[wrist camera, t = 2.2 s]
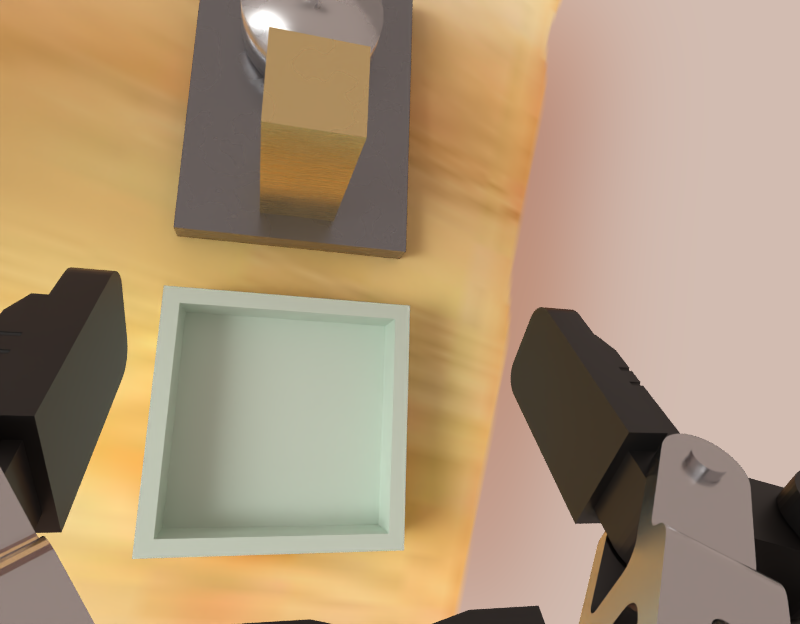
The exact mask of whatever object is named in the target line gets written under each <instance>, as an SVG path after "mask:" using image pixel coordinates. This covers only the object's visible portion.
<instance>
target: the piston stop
mask: <svg viewBox="0 0 800 624" xmlns="http://www.w3.org/2000/svg"><path fill="white" fill-rule="evenodd" d="M370 52H371V47H370V46H365V45H360V44H354V43H349V42H344V41H339V40H334V39H329V38H324V37H319V36H314V35H309V34H304V33H299V32H294V31H289V30H284V29H279V28H273V27H269V33H268V45H267V57H266V68H265V80H264V92H263V103H262V115H261V152H260V213H268V214H277V215H285V216H294V217H302V218H311V219H320V220H328V221H334V219H335V216H336V214H337V211H338V209H339V206H340V204H341V201H342V199H343V196H344V194H345V191H346V189H347V186H348V184H349V181H350V179H351V176H352V174H353V171H354V169H355V166H356V164H357V161H358V158H359V156H360V153H361V151H362V148H363V146H364V143H365V141H366V138H367V121H368V98H369V75H370Z"/></svg>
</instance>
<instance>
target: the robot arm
mask: <svg viewBox="0 0 800 624" xmlns="http://www.w3.org/2000/svg"><path fill="white" fill-rule="evenodd" d="M126 360H127V334H126V323H125V313H124V302H123V292H122V283H121V278H120V275H119V273H118V272H117V271H107V270H95V269H83V268H68V269H67V270H66V271H65V272H64V274H63V275H62V276H61V278H60V279H59V281H58V282H57V284H56V285H55V287H54V288H53V289H52V291H51V292H50V294H49V295H47V294H33V293H31V294H30V295H28V296H26V297H24V298H23V299H21V300H19V301H18V302H16V303H14V304H13V305H11V306H9V307H8V308H6V309H4V310H3V311H2V312H1V314H0V624H94V622H93V620H92V618H91V616H90V615H89V613H88V611H87V609H86V607H85V605H84V604H83V602H82V600H81V598H80V596H79V594H78V593H77V591H76V589H75V587H74V585H73V583H72V582H71V580H70V578H69V576H68V574H67V572H66V571H65V569H64V567H63V565H62V563H61V561H60V560H59V558H58V556H57V554H56V552H55V551H54V549H53V547H52V546H51V544H50V543H49V541H48V540H47V539H46V538H45V537H44V536H42V537H40V538H39V537H38V536H37V534H36V533H50V532H62V529H63V527H64V524H65V522H66V519H67V517H68V514H69V512H70V509H71V507H72V504H73V501H74V499H75V496H76V494H77V491H78V489H79V486H80V484H81V481H82V479H83V476H84V474H85V471H86V469H87V466H88V463H89V461H90V458H91V456H92V453H93V451H94V448H95V446H96V443H97V441H98V438H99V436H100V433H101V431H102V428H103V426H104V423H105V420H106V418H107V415H108V413H109V410H110V408H111V405H112V403H113V400H114V398H115V395H116V393H117V390H118V388H119V385H120V382H121V380H122V377H123V374H124V371H125V366H126ZM511 386H512V391H513V394H514V396H515V398H516V400H517V402H518V404H519V406H520V409H521V411H522V413H523V415H524V417H525V419H526V421H527V423H528V425H529V427H530V429H531V432H532V434H533V436H534V438H535V440H536V442H537V444H538V446H539V448H540V451H541V453H542V455H543V457H544V459H545V461H546V463H547V465H548V467H549V469H550V472H551V474H552V476H553V478H554V480H555V482H556V484H557V486H558V488H559V490H560V493H561V495H562V497H563V499H564V501H565V503H566V505H567V507H568V509H569V511H570V513H571V516H572V518H573V520H574V522H575V524H577V523H579V524H581V523H601V524H602V526H603V528H604V530H605V532H604V534H603V535H602V537H601V538H600V540H599V543H598V545H597V550H596V554H595V558H594V562H593V567H592V571H591V575H590V579H589V583H588V588H587V592H586V597H585V601H584V605H583V609H582V613H581V617H580V622H579V624H800V471H799V472H797V473H796V475H795V476H794V477H793V478H792V479H791V480H790V481H789V483H788V484H787V485H786V486H785V487H784V488H783V487H779V486H776V485H772V484H768V483H765V482H761V481H758V480H754V479H751V478H748V477H747V475H746V473H745V471H744V470H743V469H742V467H741V466H740V465H739V464H738V463H737V462H736V461H735V460H734V459H733V458H732V457H731V456H730V455H729V454H727V453H726V452H725V451H723V450H722V449H721V448H719V447H718V446H716V445H714V444H713V443H710V442H709V441H706V440H704V439H702V438H699V437H696V436H693V435H688V434H680V433H679V432H678V430H677V429H676V428H675V426H674V425H673V424H672V423H671V421H670V420H669V419H668V417H667V416H666V415H665V413H664V412H663V411H662V410H661V408H660V407H659V406H658V404H657V403H656V402H655V401H654V399H653V398H652V397H651V395H650V394H649V393H648V391H647V390H646V389H645V388H644V386H640V381H639V380H638V379H637V377H636V376H635V375H634V374H633V372H632V371H629V367H628V366H627V364H626V363H625V362H624V361H623V359H622V358H621V357H620V355H619V354H618V353H617V352H616V350H615V349H613V348H612V347H611V346H609V345H608V344H607V343H605V342H604V341H603V340H602V339H600V338H599V337H597V336H596V335H594V334H593V333H592V331H591V330H590V328H589V327H588V326H587V324H586V323H585V322H584V320H583V319H582V318H581V316H580V315H579V314H578V313H577V312H576V311H574V310H568V309H555V308H543V307H540V308H538V309H537V310H535V311H534V313H533V315H532V317H531V319H530V321H529V324H528V327H527V329H526V332H525V334H524V337H523V339H522V342H521V345H520V347H519V350H518V352H517V355H516V357H515V360H514V363H513V365H512V370H511ZM244 624H330V623H325V622H320V621H315V620H311V619H310V620H294V621H277V622H261V623H244ZM433 624H545V623H544V620H543V617H542V614H541V611H540V609H539V606H527V607H510V608H494V609H477V610H468V611H465V612H463V613H460V614H457V615H455V616H452V617H449V618H447V619H444V620H441V621H439V622H436V623H433Z"/></svg>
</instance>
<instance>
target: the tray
mask: <svg viewBox="0 0 800 624" xmlns="http://www.w3.org/2000/svg"><path fill="white" fill-rule="evenodd" d="M409 327H410V306H409V305H396V304H384V303H372V302H359V301H347V300H335V299H323V298H310V297H298V296H286V295H274V294H261V293H249V292H237V291H225V290H212V289H200V288H188V287H175V286H164V289H163V298H162V306H161V315H160V324H159V332H158V341H157V349H156V358H155V367H154V375H153V384H152V392H151V401H150V410H149V418H148V427H147V435H146V444H145V453H144V461H143V470H142V478H141V487H140V496H139V504H138V513H137V522H136V530H135V539H134V547H133V556H132V559H141V558H173V557H205V556H237V555H269V554H301V553H333V552H365V551H396V550H404V528H405V488H406V448H407V407H408V367H409Z"/></svg>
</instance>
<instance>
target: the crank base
mask: <svg viewBox="0 0 800 624" xmlns="http://www.w3.org/2000/svg"><path fill="white" fill-rule="evenodd" d="M412 2H413V0H200V3H199V11H198V20H197V29H196V37H195V46H194V55H193V64H192V72H191V81H190V90H189V98H188V107H187V116H186V124H185V133H184V142H183V150H182V159H181V168H180V177H179V185H178V194H177V203H176V211H175V220H174V229H175V231H176V234H177V236H183V237H192V238H202V239H212V240H222V241H231V242H241V243H251V244H261V245H270V246H280V247H290V248H300V249H309V250H319V251H329V252H338V253H348V254H358V255H368V256H377V257H387V258H397V259H400V258H401V257H402V255H403V254H404V253H405V252H406V225H407V187H408V150H409V113H410V76H411V39H412ZM269 27H273V28H279V29H284V30H289V31H294V32H299V33H304V34H309V35H314V36H319V37H324V38H329V39H334V40H339V41H344V42H349V43H354V44H360V45H365V46H370V47H371V52H370V75H369V98H368V121H367V138H366V141H365V143H364V146H363V148H362V151H361V153H360V156H359V158H358V161H357V164H356V166H355V169H354V171H353V174H352V176H351V179H350V181H349V184H348V186H347V189H346V191H345V194H344V196H343V199H342V201H341V204H340V206H339V209H338V211H337V214H336V216H335V219H334V221H328V220H320V219H311V218H302V217H294V216H285V215H277V214H268V213H260V152H261V115H262V103H263V92H264V80H265V68H266V57H267V45H268V33H269Z"/></svg>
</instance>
